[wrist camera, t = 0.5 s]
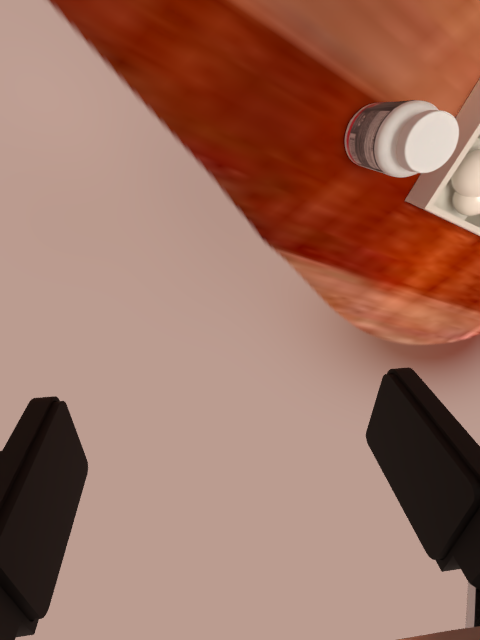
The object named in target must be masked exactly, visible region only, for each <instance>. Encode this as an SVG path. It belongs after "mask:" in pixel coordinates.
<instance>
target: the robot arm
mask: <svg viewBox="0 0 480 640" xmlns="http://www.w3.org/2000/svg"><path fill="white" fill-rule="evenodd" d="M366 439H367V443H368V445H369V447H370V449H371V450H372V452H373V454H374V456H375V458H376V460H377V461H378V464H379V466H380V467H381V469H382V471H383V473H384V475H385V477H386V478H387V480H388V482H389V484H390V486H391V488H392V490H393V491H394V493H395V495H396V497H397V499H398V501H399V503H400V505H401V507H402V508H403V510H404V512H405V514H406V516H407V518H408V519H409V521H410V523H411V525H412V527H413V529H414V531H415V532H416V534H417V536H418V538H419V540H420V542H421V544H422V545H423V547H424V549H425V551H426V553H427V554H428V556H429V557H430V558H432V559H434V560H436V562H437V564H438V565H439V567H440V569H441V571H442V572H443V571H449V570H456V569H461V570H462V571H463V573H464V575H465V576H466V578H467V580H468V594H467V612H466V628H465V629H458V630H451V631H445V632H440V633H433V634H428V635H423V636H416V637H410V638H404V639H398V640H480V446H479V445H478V444H477V443H476V442H475V441H474V439H473V438H472V437H471V436H470V435H469V434H468V433H467V431H466V430H465V429H464V428H463V427H462V426H461V424H460V423H459V422H458V421H457V420H456V419H455V417H454V416H453V415H452V414H451V413H450V412H449V411H448V409H447V408H446V407H445V406H444V405H443V404H442V403H441V402H440V400H439V399H438V398H437V397H436V396H435V394H434V393H433V392H432V391H431V390H430V389H429V388H428V386H427V385H426V384H425V383H424V382H423V381H422V379H420V377H419V376H418V375H417V374H416V373H415V372H414V370H412V369H411V368H398V369H390V370H389V371H388V373H387V374H385V375H384V376H383V378H382V382H381V385H380V388H379V391H378V395H377V398H376V402H375V405H374V408H373V411H372V415H371V418H370V422H369V425H368V428H367V432H366ZM87 472H88V462H87V459H86V456H85V453H84V451H83V448H82V445H81V443H80V440H79V437H78V435H77V432H76V429H75V427H74V424H73V421H72V418H71V416H70V413H69V410H68V407H67V405H66V403H65V402H64V401H59V399H58V398H57V397H43V398H34V399H32V400H31V401H30V402H29V404H28V406H27V408H26V409H25V411H24V413H23V415H22V416H21V419H20V420H19V422H18V424H17V425H16V427H15V429H14V431H13V433H12V435H11V436H10V438H9V440H8V442H7V443H6V445H5V447H4V449H3V451H0V640H15V637H20V636H27V635H33V634H34V633H35V630H36V626H37V623H38V620H39V619H41V618H43V617H44V616H45V615H46V613H47V611H48V609H49V606H50V602H51V599H52V595H53V592H54V588H55V584H56V581H57V578H58V574H59V571H60V567H61V564H62V560H63V557H64V553H65V550H66V546H67V542H68V539H69V536H70V532H71V529H72V525H73V522H74V518H75V515H76V511H77V508H78V504H79V501H80V497H81V494H82V490H83V486H84V483H85V480H86V476H87Z"/></svg>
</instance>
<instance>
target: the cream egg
mask: <svg viewBox="0 0 480 640" xmlns="http://www.w3.org/2000/svg"><path fill="white" fill-rule="evenodd" d="M451 183H452V186H453V188H454V190H455V192H454V195H453V199H452V203H453V206H454V208H455V210H456V211H457V212H458V213H460V214H462V215H465V216H474V215H478V214H480V149H477V150H474V151H471V152H469V153H468V154H466V156H465V157H464V159H463V160H462V162H461V163H460V165H459V166H458V168H457V169H456V171H455V172H454V174H453V175H452V177H451Z"/></svg>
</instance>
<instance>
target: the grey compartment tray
mask: <svg viewBox="0 0 480 640" xmlns="http://www.w3.org/2000/svg"><path fill="white" fill-rule="evenodd" d="M455 119H456V121H457V123H458V127H459V137H458V142H457V145H456V148H455V150H454V152H453V154H452V155H451V157H450V158H449V159H448V161H447V162H446V163H445V164H443V165H442V166H441V167H440V168H438V169H436V170H434V171H432V172H429V173H421V175H420V176H419V178H418V180H417V181H416V183H415V185H414V186H413V188H412V189H411V191H410V193H409V194H408V196H407V198H406V199H405V201H407V202H409V203H411V204H413V205H415V206H417V207H419V208H421V209H423V210H425V211H428V212H430V213H432V214H434V215H436V216H438V217H440V218H442V219H444V220H446V221H449V222H451V223H453V224H455V225H457V226H459V227H461V228H463V229H465V230H468V231H470V232H472V233H474V234H476V235H478V236H480V214H478V215H474V216H465V215H462V214H460V213H458V212H457V211H456V210H455V208H454V206H453V203H452V199H453V195H454V192H455V190H454V188H453V186H452V183H451V177H452V175H453V174H454V172H455V171H456V169H457V168H458V166H459V165H460V163H461V162H462V160H463V159H464V157H465V156H466V154H468V153H469V152H471V151H474V150H477V149H480V79H479V80H478V82H477V84H476V85H475V87H474V88H473V90H472V92H471V93H470V95H469V97H468V98H467V100H466V102H465V103H464V105H463V106H462V108H461V110H460V111H459V113H458V115H457V116H456V118H455Z"/></svg>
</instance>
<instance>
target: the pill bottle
mask: <svg viewBox="0 0 480 640" xmlns="http://www.w3.org/2000/svg"><path fill="white" fill-rule="evenodd" d="M458 137H459V127H458V123H457V121H456V119H455V118H454V117H453V116H452V115H451V114H450V113H448V112H446V111H440V110H438V109H437V108H436V107H435V106H434V105H433V104H431V103H429V102H426V101H421V100H411V101H400V102H379V103H373V104H369V105H367V106H365V107H363V108H362V109H360V110H359V111H358V112H357V113H356V114H355V115H354V117H353V118H352V119H351V121H350V122H349V124H348V127H347V130H346V133H345V139H344V140H345V149H346V152H347V155H348V157H349V158H350V159H351V160H352V161H353V162H354V163H355V164H357V165H359V166H362V167H365V168H368V169H371V170H374V171H378V172H381V173H384V174H387V175H390V176H393V177H408V176H412V175H414V174H417V173H429V172H432V171H434V170H436V169H438V168H440V167H441V166H442V165H443V164H445V163H446V162H447V161H448V159H449V158H450V157H451V155H452V154H453V152H454V150H455V148H456V145H457V142H458Z"/></svg>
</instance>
